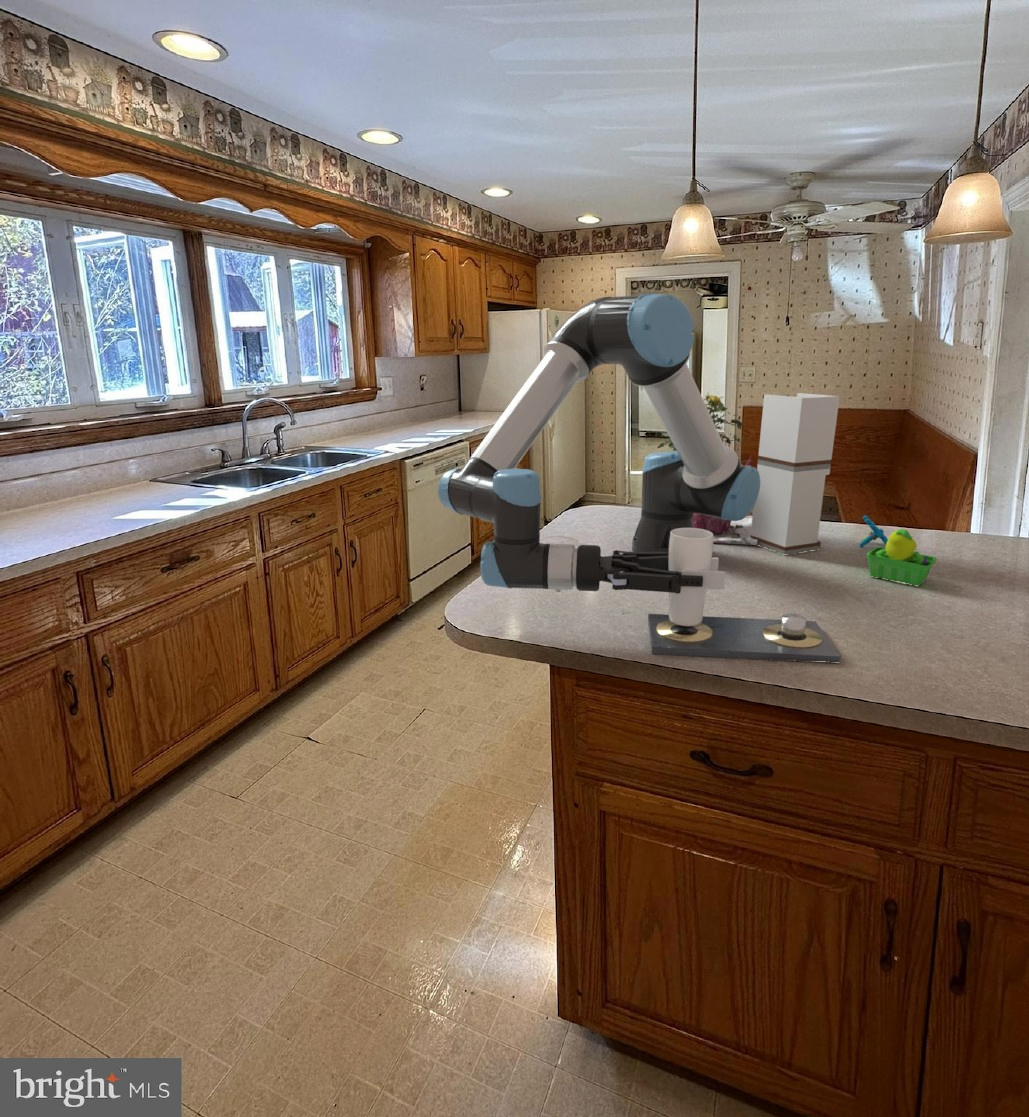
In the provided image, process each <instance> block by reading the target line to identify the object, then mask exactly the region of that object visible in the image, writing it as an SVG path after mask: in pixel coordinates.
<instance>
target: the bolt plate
mask: <svg viewBox="0 0 1029 1117" xmlns="http://www.w3.org/2000/svg"><path fill="white" fill-rule="evenodd" d="M647 624H648V632H649V640H650V641H649V642H650V651H651V654H652V655H668V656H670V655H671V656H684V657H686V656H688V657H705V658H707V657H708V658H724V659H740V658H750V659H749V660H759V659H768V660H767V661H778V660H792V661H791V662H794V661H793V660H796V661H795V662H797V661H826V662H828V661H829V662H840V663H841V659H842V658H841V657H842V656H841V655H840V653H839V652H838V651H837V649H836V648H835V646H834V645H833V643H832V642H831V641H830V639H829V638H828V636H827V635H826V633H825V632H824V631H823V629H822V628H821V627H820V626H819V623H818V622H817V621H816V620H815V621H814V620H812V621H811V620H807V618H806V617H805V616H803V615H802V614H796V613H784V614H783V615H782V616H781V619H772V618H769V619H768V618H751V617H750V618H748V617H725V616H721V617H720V616H707V615H706V616H705V615H703V618H702V621H701V623H700V624H698V625H695V626H681V625H677V624H675V623H673V622H671V621H670V619H669V614H664V613H663V614H661V613H660V614H659V613H658V614H657V613H648V614H647ZM770 659H772V660H770Z"/></svg>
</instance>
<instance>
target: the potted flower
mask: <svg viewBox="0 0 1029 1117" xmlns="http://www.w3.org/2000/svg"><path fill="white" fill-rule="evenodd" d="M723 398H724V396H720V397H718V396H717V395H712V394H711V395H710V394H709V393H707V395H705V398H703V401H706V402H707V403H705V405H706V407H707V409H708V412H709V414H710V416H711V418H712V420H713V422H714V425H715V427H716V429H717V430H724V431H725V428H724V427H723V426H719V425H720V424H721V425H722V424H729V425H731V426H736V425H737V426H736V427H737V428H738V429H739V430H741V429H742V428H743V427H744V426H743V425H744V424H743V423H742V422H741V421H740V420H739V419H730V422H728V420H726V419H723V418H724V416H727V414H728V415H731V413H730V412H729V411H728V410H727V409H729V407H725V404H723V402H722V401H721V400H722V399H723ZM725 412H727V414H725ZM715 413H716V415H715ZM718 413H720V414H722V413H723V415H721V416H720V417H719V415H718ZM733 416H734V417H735V416H737V414H733ZM722 428H723V429H722ZM718 433H719V432H718ZM661 434H662V435H663V436H664V437H669V435H668V433H667V432H666V433H665V432H664V433H663V432H662V433H661ZM719 436H720V438H721V440H722V442H723V443H724V442H725V444H728V445H727V446H728V447H730V445H731V444H732V442H736V441H737V442H738V443H742V441H741V440H746V439H749V437H748V438H746V437H741V438H740V439H738V438H737V437H738V436H737V435H735V434H734V435H732V433H731V432H730V433H729V436H732V439H734V440H732V439H730V437H727V436H726V433H719ZM724 439H725V440H724ZM666 444H668V445H667V446H668V447H669V449H672V451H677V450H676V448H675V446H674V444H673V442H672V440H671V439H670V438H668V439H667V440H665V441H664V442H661V443H660V444H659V445H658V446H657V448H656V449H661V448H663V447H665V445H666ZM740 462H741V463H745V462H746V463H745V464H744V466H747V465H749V466H751V467H752V454H750V455H749V459H748V460H742V461H740ZM693 523H694V527H695V528H698V529H704V530H707V531H710V532H712V533H713V535H716V534H717V535H719V534H724V533H727V532H729V531H730V528H731V527H732V528H731V531H732V532H733V533H735V534H739V537H736V538H733V537H732V536H725V537H718V539H714V538H713V544H714V543H717V544H734V545H753V546H756V545H757V539H753V538H751V527H752V517H745V518H744V519H742V520H738V521H731V520H722V519H719V518H714V517H710V516H706V515H701V514H697V513H693Z"/></svg>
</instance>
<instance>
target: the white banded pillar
mask: <svg viewBox="0 0 1029 1117" xmlns="http://www.w3.org/2000/svg"><path fill="white" fill-rule="evenodd" d="M796 394H797V395H796V396H790V395H789V396H786V395H779V394H764V395H763V403H762V404H763V405H762V414H761V415H762V416H761V424H760V425H761V426H760V436H759V443H758V444H759V446H758V456H757V467H756V469H757V471H758V472H759V475H760V490H759V494H758V498H757V500H756V503H755V505H754V507H753V509H752V516H751V518H752V527H751V538H753V539H757V545H760V546H762V547H766V548H768V549H771V550H775V551H776V552H779V553H781V554H793V555H795V554H794V553H799V552H804V551H810V550H818V549H820V550H821V546H822V545H821V544H822V542H821V540H819V539H818V538H819V531H820V530H819V529H820V522H821V515H822V508H823V507H822V506H823V500H824V499H823V498H824V491H825V485H826V484H825V482H826V476H828V475H830V473H831V467H832V466H831V465H832V458H833V449H834V445H835V444H834V442H835V436H836V427H837V420H838V412H839V403H840V396H838V395H828V394H815V393H805V392H797V393H796ZM762 547H761V548H762ZM781 554H780V555H781ZM799 554H800V553H799Z"/></svg>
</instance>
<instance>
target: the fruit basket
mask: <svg viewBox="0 0 1029 1117" xmlns="http://www.w3.org/2000/svg"><path fill="white" fill-rule="evenodd" d="M887 539H888V541H887V543H886V545H885V547H881V546H877V547H875V548H873V549H872V550H870V551H868V552H866V558H867V561H868V567H869V568H868V569H869V574H870V576H873V577H878V578H885V579H888V580H894V581H900V582H905V583H909V584H912V585H919V586H921V585H922V584H923V583H924V582H925V581H926V579H927V577H928V575H929V573H930V571H931V569H932V567H933V565H934V564H935V563H936V561H937V558H936V557H935V556H931V555H924V554H921V553H920V552H919V551H916V548H917V542H916V541H915V539H914V538H913V536H911V534H910V532H909V531H908V530H907V529H905V528H901V529H898V530H897V529H896V530H895V531H893V532H892V533H891V534H890V535H889V537H888V538H887ZM924 580H925V581H924ZM923 581H924V582H923ZM922 582H923V583H922ZM921 583H922V584H921ZM920 584H921V585H920Z"/></svg>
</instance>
